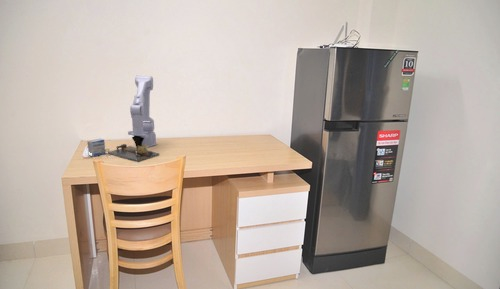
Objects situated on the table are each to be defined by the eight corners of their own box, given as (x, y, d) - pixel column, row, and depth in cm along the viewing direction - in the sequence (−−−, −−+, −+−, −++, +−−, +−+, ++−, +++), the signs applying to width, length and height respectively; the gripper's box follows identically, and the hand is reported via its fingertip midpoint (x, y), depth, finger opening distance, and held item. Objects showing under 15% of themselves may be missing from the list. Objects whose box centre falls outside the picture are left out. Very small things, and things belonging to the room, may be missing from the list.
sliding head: (143, 152, 191) (143, 144, 190) (147, 153, 190) (146, 144, 189) (134, 155, 186) (133, 146, 184) (137, 156, 184) (137, 147, 183)
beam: (124, 148, 198) (124, 144, 197) (152, 155, 187) (152, 150, 186) (116, 150, 193) (115, 146, 192) (144, 158, 182) (144, 153, 181)
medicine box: (93, 157, 183) (91, 142, 181) (88, 155, 185) (87, 140, 183) (105, 153, 190) (104, 139, 187) (100, 152, 192) (99, 138, 189)
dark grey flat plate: (129, 147, 203) (129, 145, 203) (159, 155, 192) (159, 153, 191) (107, 153, 190) (107, 152, 189) (138, 162, 178) (138, 160, 178)
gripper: (123, 124, 186) (124, 147, 190) (141, 128, 179) (142, 152, 183) (133, 123, 192) (134, 145, 196) (150, 126, 185) (151, 149, 189)
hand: (138, 148), depth 190 cm, fingers closed
